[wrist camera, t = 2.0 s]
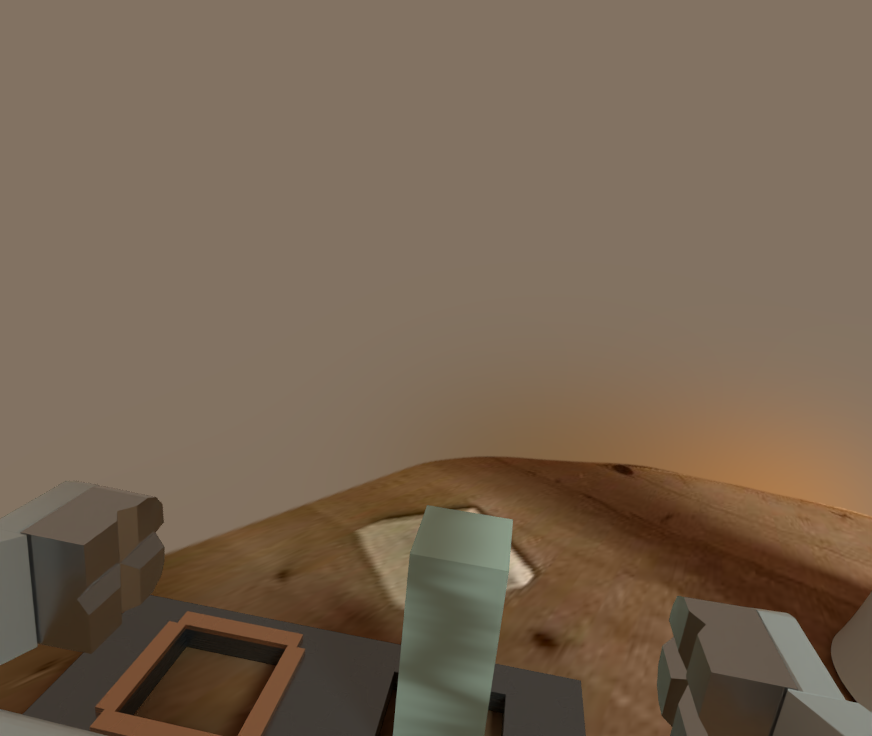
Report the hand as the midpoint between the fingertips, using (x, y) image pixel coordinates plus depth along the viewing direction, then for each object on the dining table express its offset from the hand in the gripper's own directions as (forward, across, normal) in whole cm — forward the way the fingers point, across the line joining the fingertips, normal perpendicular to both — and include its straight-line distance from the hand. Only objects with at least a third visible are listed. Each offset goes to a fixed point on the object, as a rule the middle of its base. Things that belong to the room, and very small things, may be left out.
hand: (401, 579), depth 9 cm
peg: (+15, 0, +20) cm, 25 cm away
